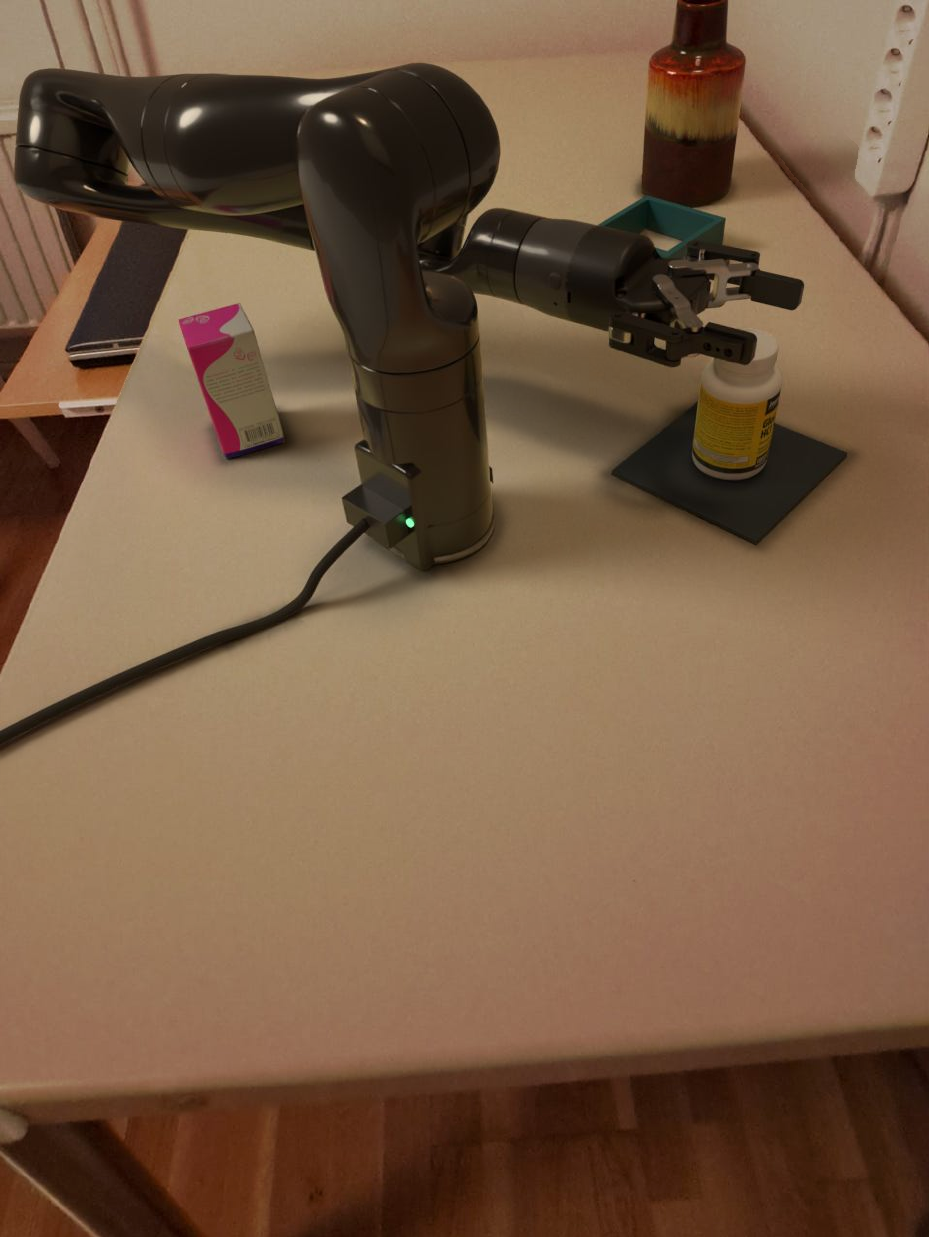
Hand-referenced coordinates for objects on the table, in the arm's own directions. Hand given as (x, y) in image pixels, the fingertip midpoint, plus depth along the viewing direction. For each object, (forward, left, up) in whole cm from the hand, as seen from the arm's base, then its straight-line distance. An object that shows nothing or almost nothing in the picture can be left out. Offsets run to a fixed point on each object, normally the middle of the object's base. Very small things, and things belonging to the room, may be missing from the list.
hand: (778, 322), depth 68 cm
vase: (+43, +36, -14) cm, 58 cm away
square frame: (+27, +29, -14) cm, 42 cm away
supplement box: (-23, +39, -14) cm, 47 cm away
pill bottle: (0, +2, -14) cm, 14 cm away
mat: (0, +2, -14) cm, 14 cm away
